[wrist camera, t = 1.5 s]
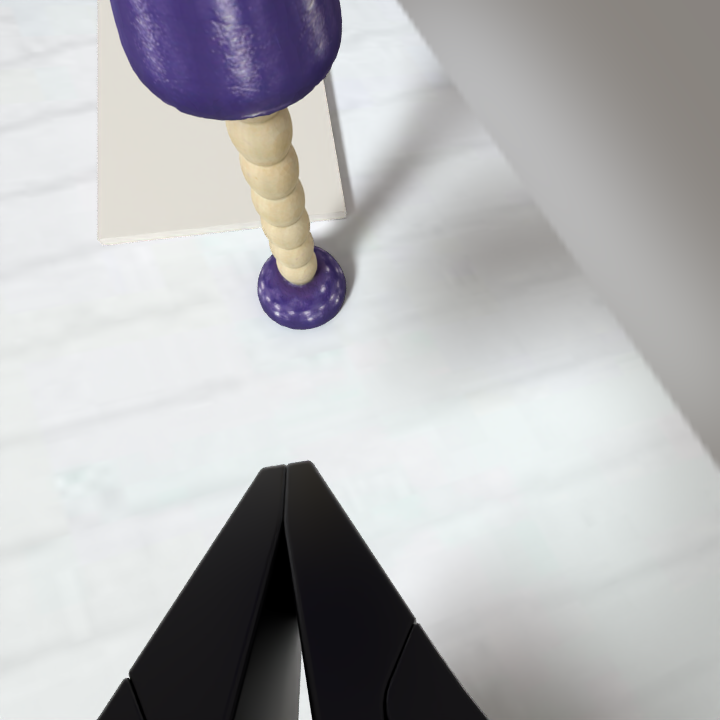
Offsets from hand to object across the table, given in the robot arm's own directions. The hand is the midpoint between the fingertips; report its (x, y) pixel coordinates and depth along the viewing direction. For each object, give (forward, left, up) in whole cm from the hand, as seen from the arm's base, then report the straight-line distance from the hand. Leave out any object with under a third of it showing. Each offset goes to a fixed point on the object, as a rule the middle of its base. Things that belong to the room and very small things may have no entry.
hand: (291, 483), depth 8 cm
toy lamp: (+10, 0, -13) cm, 16 cm away
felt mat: (+21, +3, -13) cm, 25 cm away
